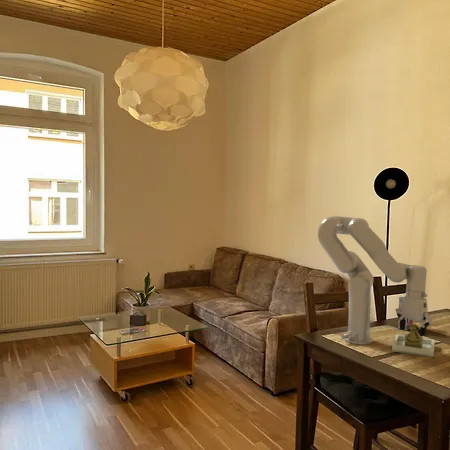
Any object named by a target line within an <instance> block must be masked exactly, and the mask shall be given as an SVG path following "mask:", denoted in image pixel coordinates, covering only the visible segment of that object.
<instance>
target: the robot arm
mask: <svg viewBox="0 0 450 450" xmlns="http://www.w3.org/2000/svg"><path fill="white" fill-rule="evenodd" d="M338 234H339V235H346V236H347V235H348V236H351V238H353V239H354V241H355V242H356V243H357V244H358V245H359V246H360V247H361V248H362V249H363V250H364V251H365V252H366V254H367V255H368V256H369V257H370V259H371V260H372V261H373V263H374V264H375V266H376V267H377V268H378V269H379V270H380V271H381V272H382V273H383V274H384V276H385V277H387V279H389V280H390V281H392V282H393V283H397V284H399V283H402V282H403V281H405V280H406V286H405V287H406V288H405V294H406V295H405V296H404V299H403V303H402V307H401V308H399V307H398V308H395V313H396V316H397V318H399V320H400V329H399V330H400V331H401V330H402V329H405V326H406V320H405V319H406V318H407V319H410V320H413V321H414V322H418V323H419V324H420V326H419V327H420V329H419V335H420V336H421V337H422V338H423V337H425V336H426V335H427V328H428V327H429V326H430V325H432V323H433V321H434V318H433V317H431V316H430V315H429V313H428V312H429V311H428V310H429V309H428V308H429V307H428V300H427V298H428V293H426V286H427V285H426V284H427V273H428V271H427V270H428V269H427V268H426V267H425V266H423V265H418V264H407V263H403V262H398V261H397V260H396V259H395V258H394V257H393V256H392V255H391V254H390V252H389V251H388V249H387V247H386V244H385V242H384V241H383V240H382V239H381V238H380V237H379V235H377V234H376V232H374V230H373V229H372V228H371V227H370V226H369V223H368V221H367V220H366V219H364V218H363V217H362V218H361V217H349V216H348V217H347V216H339V215H337V216H336V215H335V216H334V215H333V216H328V217H326V218H324V219H322V221H320V224H319V227H318V229H317V239H318V241H319V244H320V245H321V247H322V248H323V250H324V251H325V253H326V254H327V255H328V257H329V258H330V259H331V261H332V262H333V264H334V265H335V267H336V268H337V270H338V271H339V272H341V273H343V274H347V276H348V277H349V279H348V280H349V281H348V284H347V285H348V321H347V330H346V333H343V334H341V336H340V337H341V339H342V340H345V342H347V343H350V344H354V345H371V344H373V342H374V339H373V337H371V336H370V333H371V305H372V304H371V301H372V300H371V299H372V297H371V290H372V286H373V284H374V275H373V273H371V271H370V270H369V268H368V267H367V266H366V264H365V263H364V262H363V260H362V259H361V257H360V256H359V255H358V254H357V253H356V252H354V251H350V250H348V248H347V247H346V246H345V245H344V244H343V242H342V241H341V239H339V237H338ZM400 311H401V313H400Z"/></svg>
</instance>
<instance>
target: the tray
mask: <svg viewBox="0 0 450 450" xmlns="http://www.w3.org/2000/svg"><path fill="white" fill-rule="evenodd" d="M422 338H423V341H422V343H423V348H422V349H421V348H415V347H408V346H405V345H404V343H405V340H406V339H405V335H404V334H403V335H402V334H395V335H394V340H393V341H392V347H391V350H392V352H394V353H400V354H405V355H406V354H407V355H413V356H418V357H424V358H425V357H426V358H431V359H434V357H435V355H434V354H435V341H436V340H435V339H429V338H425V337H422Z"/></svg>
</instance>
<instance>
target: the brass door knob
mask: <svg viewBox="0 0 450 450" xmlns="http://www.w3.org/2000/svg"><path fill="white" fill-rule="evenodd" d="M420 327H421V326H419V325H417V323H412V324H411V325H409V326H408V328H409V329H408V330H410V332H408V333H407V334H405V335H404V336H405V339H406V340H405V343H404V345H405V346H408V347H415V348H421V349H422V348H423V343H422V341H423V338H424V337H423V336H422V337H421V336H420V333H419V332H418V331H420Z"/></svg>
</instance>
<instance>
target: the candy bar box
mask: <svg viewBox="0 0 450 450" xmlns="http://www.w3.org/2000/svg"><path fill="white" fill-rule="evenodd" d="M405 295H406V293H403V294H402V295H400V296H399V299H398V300H399V301H398V308H401V307H402V303H403V299H404V296H405ZM400 313H401V311H400ZM397 318H398V317H397ZM405 320H406V326H405V329H402V330H403V331H408V330H410V329H409V328H408V326H409V325H411V324H414V322H413V321H414V320H410V319H407V318H406V319H405ZM397 329H398V330H400V320H399V318H398V320H397Z"/></svg>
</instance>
